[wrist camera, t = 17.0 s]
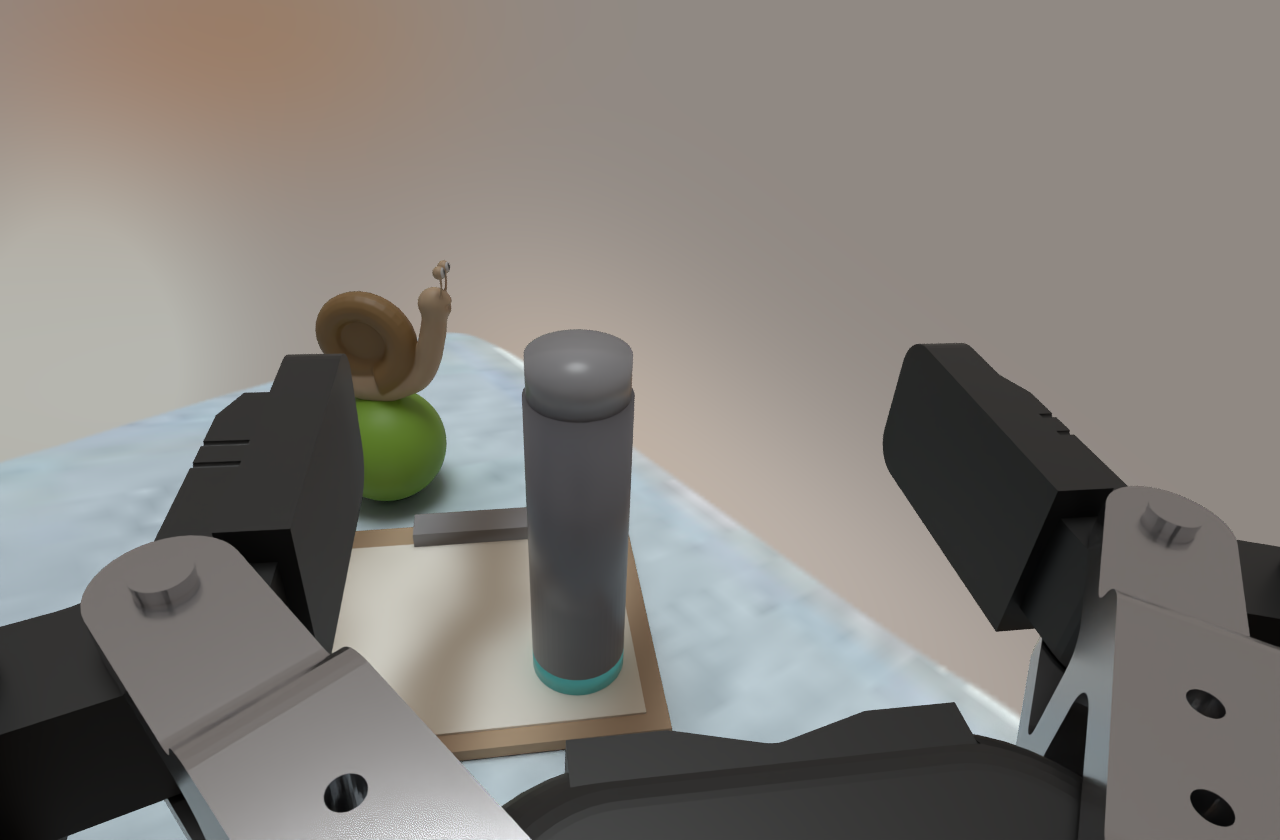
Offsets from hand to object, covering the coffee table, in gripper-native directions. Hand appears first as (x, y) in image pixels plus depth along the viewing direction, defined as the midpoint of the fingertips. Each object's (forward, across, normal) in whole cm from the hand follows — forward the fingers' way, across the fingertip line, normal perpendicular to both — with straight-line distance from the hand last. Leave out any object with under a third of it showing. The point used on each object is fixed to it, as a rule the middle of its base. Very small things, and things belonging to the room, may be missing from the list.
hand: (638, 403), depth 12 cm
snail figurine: (+23, +7, +20) cm, 31 cm away
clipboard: (+13, +4, +19) cm, 24 cm away
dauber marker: (+11, -1, +18) cm, 21 cm away
